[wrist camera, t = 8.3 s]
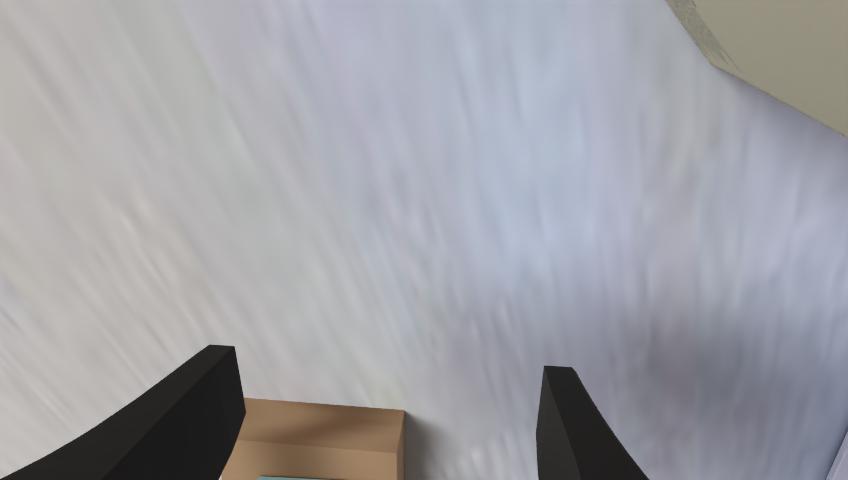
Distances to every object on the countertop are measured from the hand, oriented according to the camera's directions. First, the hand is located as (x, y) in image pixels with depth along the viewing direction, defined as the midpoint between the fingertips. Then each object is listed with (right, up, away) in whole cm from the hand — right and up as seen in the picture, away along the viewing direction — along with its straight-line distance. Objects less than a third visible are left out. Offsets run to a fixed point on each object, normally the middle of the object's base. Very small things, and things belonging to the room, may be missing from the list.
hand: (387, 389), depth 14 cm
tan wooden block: (-4, -8, +16) cm, 18 cm away
